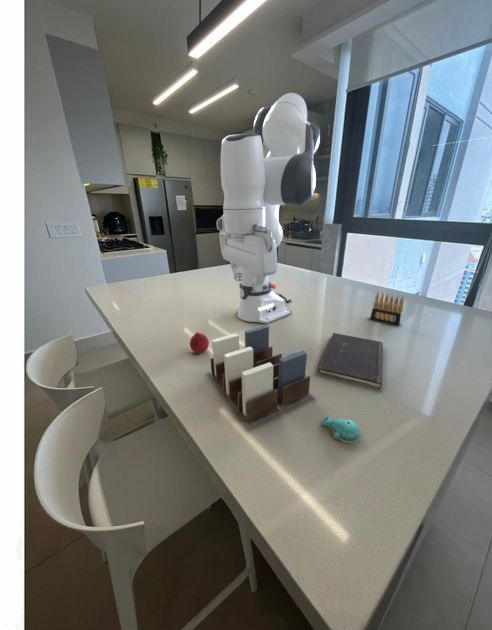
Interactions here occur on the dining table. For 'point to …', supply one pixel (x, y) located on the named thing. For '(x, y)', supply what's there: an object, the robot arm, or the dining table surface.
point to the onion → (199, 342)
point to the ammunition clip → (387, 310)
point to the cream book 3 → (256, 382)
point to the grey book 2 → (291, 369)
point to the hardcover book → (354, 359)
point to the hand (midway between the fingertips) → (247, 285)
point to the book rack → (268, 401)
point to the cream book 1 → (224, 347)
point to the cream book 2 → (237, 364)
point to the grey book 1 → (257, 338)
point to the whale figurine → (343, 429)
